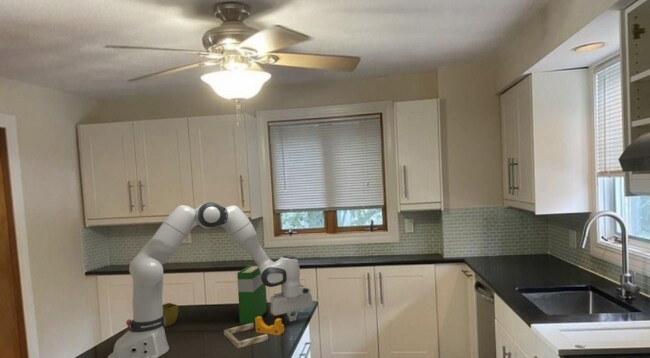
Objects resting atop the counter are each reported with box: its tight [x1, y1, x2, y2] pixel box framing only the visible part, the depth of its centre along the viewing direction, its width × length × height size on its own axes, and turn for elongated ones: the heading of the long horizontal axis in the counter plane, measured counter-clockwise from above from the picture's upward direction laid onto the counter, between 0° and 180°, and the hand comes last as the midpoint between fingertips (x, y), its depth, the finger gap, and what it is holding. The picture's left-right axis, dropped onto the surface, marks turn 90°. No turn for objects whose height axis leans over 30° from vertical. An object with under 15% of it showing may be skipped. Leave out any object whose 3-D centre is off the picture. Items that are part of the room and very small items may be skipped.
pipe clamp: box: [254, 316, 285, 336], centre depth 176 cm, size 12×4×6 cm, turn 67°
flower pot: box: [163, 302, 179, 328], centre depth 192 cm, size 9×9×9 cm
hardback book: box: [236, 264, 268, 325], centre depth 197 cm, size 18×7×24 cm, turn 170°
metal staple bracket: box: [223, 323, 269, 349], centre depth 172 cm, size 14×18×2 cm
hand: (292, 320), depth 184 cm, fingers closed
